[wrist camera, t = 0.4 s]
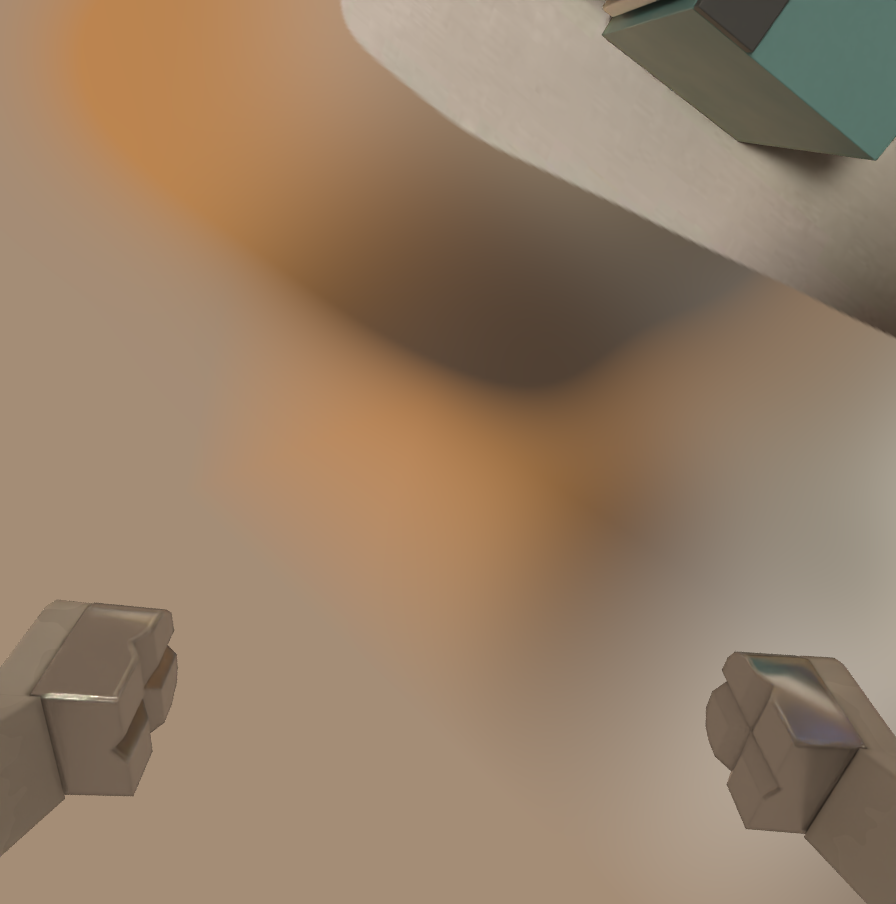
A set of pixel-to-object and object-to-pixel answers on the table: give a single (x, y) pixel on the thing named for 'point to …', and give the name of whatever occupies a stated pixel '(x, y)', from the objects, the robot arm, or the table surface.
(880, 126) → the washer
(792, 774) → the robot arm
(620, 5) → the washer door
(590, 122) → the table surface
